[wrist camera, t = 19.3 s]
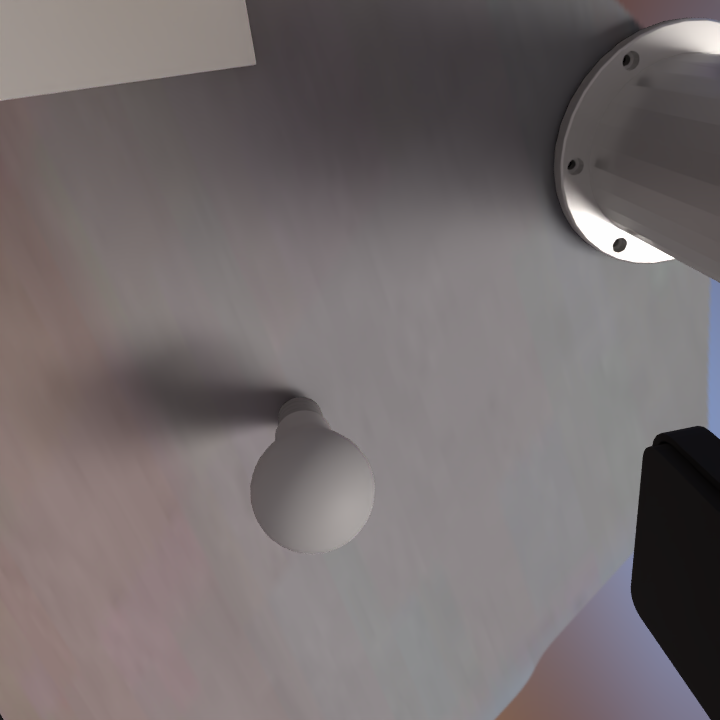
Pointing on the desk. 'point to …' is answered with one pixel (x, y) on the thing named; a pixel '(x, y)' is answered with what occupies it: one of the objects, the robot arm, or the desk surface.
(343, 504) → the lightbulb
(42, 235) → the desk surface
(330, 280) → the desk surface
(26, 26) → the board
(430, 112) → the desk surface
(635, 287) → the desk surface
